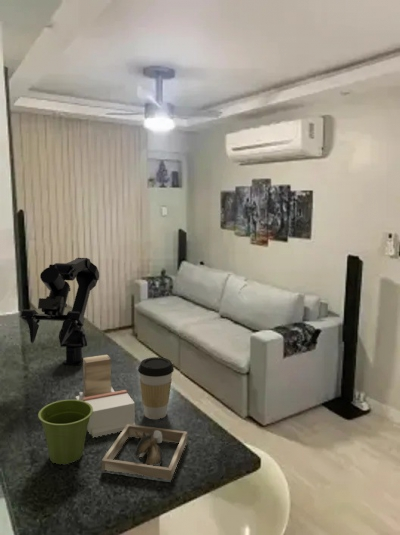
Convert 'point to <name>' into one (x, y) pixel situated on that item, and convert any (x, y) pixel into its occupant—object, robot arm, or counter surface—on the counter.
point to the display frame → (144, 468)
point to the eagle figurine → (150, 447)
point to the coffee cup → (155, 386)
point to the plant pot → (65, 429)
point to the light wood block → (97, 375)
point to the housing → (109, 412)
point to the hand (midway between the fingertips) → (46, 343)
